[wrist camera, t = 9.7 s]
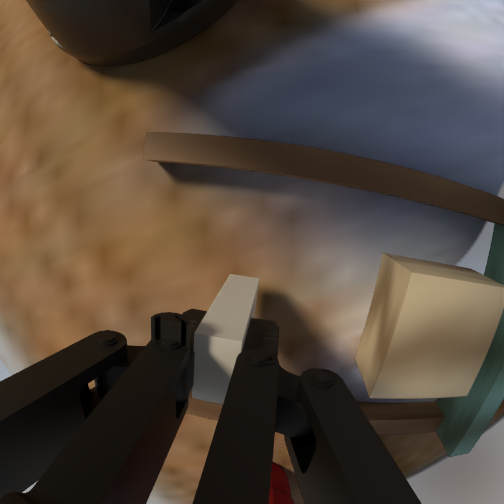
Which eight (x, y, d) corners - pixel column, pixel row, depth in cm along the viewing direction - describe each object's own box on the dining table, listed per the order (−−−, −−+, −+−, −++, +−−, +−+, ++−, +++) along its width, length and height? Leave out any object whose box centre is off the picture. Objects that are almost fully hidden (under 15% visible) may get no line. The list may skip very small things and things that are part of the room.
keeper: (382, 252, 17) (411, 272, 12) (470, 268, 16) (509, 288, 12) (354, 356, 18) (369, 397, 14) (439, 361, 18) (466, 395, 13)
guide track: (160, 137, 16) (119, 121, 12) (515, 208, 15) (562, 216, 10) (148, 384, 20) (120, 426, 15) (446, 414, 18) (468, 452, 13)
